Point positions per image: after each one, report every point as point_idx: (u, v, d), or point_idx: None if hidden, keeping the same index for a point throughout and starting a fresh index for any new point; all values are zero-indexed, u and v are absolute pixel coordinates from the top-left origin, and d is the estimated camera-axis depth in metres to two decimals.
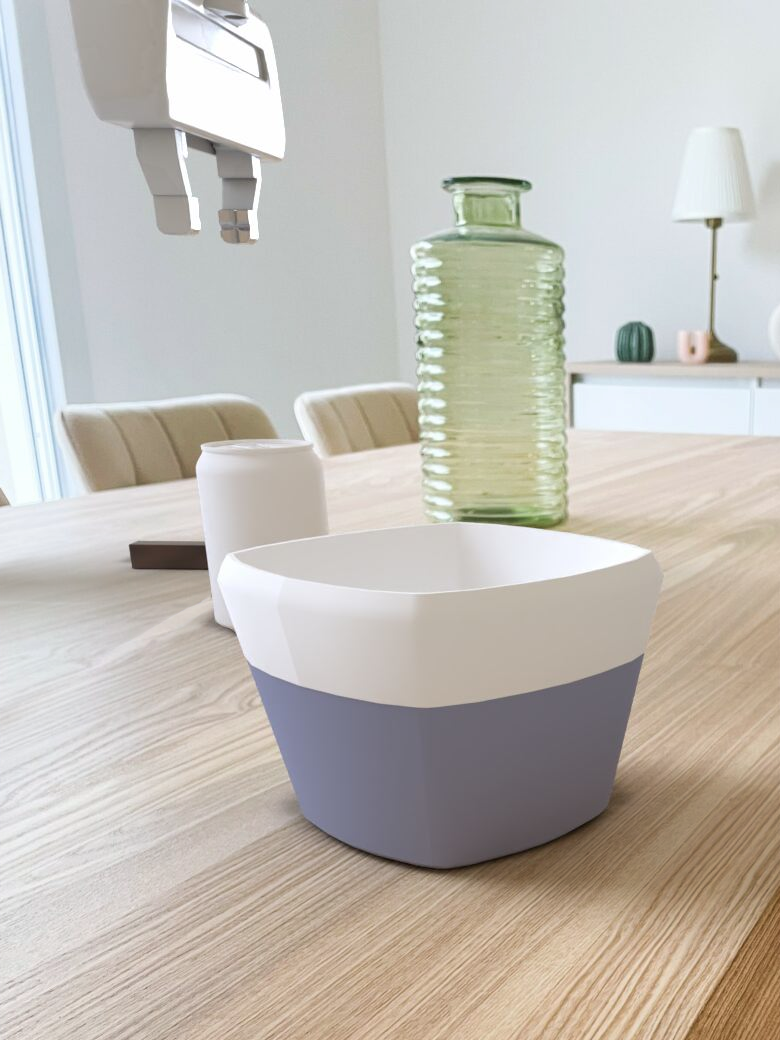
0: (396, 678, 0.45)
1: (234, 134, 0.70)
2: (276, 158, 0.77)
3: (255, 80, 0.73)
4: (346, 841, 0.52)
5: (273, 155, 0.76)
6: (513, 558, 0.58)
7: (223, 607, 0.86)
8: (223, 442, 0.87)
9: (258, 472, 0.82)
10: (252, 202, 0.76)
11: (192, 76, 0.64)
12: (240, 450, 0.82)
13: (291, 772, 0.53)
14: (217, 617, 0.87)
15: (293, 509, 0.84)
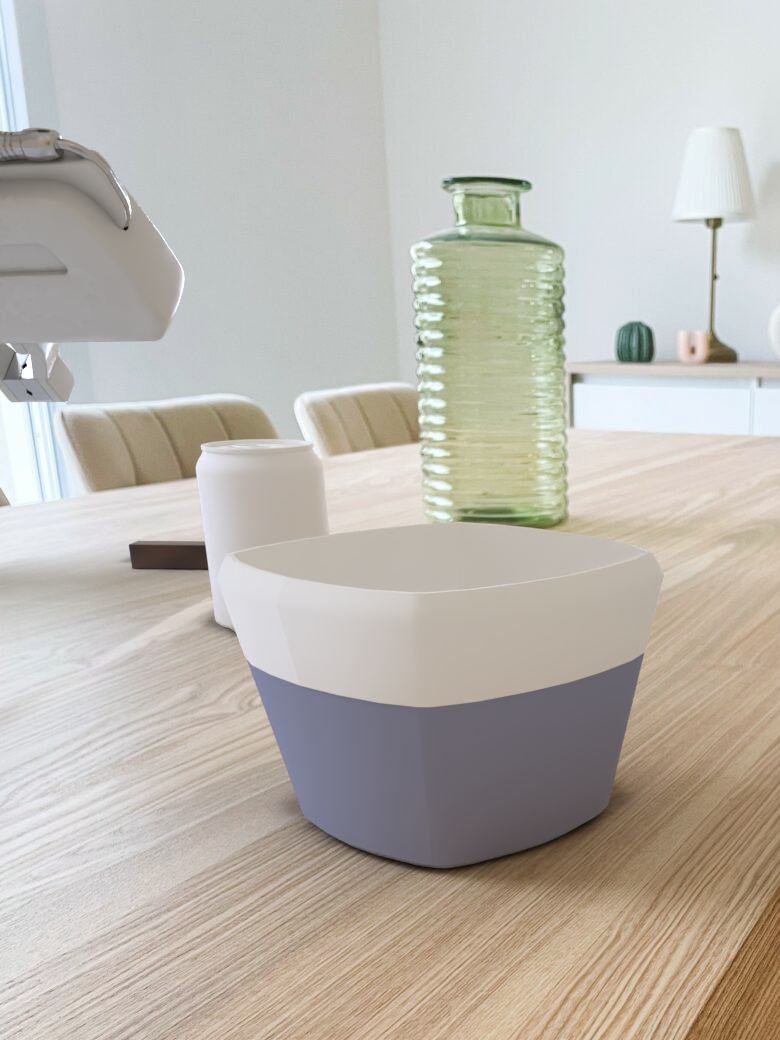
0: (396, 677, 0.45)
1: None
2: None
3: (24, 281, 0.55)
4: (346, 841, 0.52)
5: (116, 341, 0.58)
6: (513, 558, 0.58)
7: (223, 607, 0.86)
8: (223, 442, 0.87)
9: (258, 472, 0.82)
10: (32, 372, 0.62)
11: None
12: (240, 450, 0.82)
13: (291, 772, 0.53)
14: (217, 617, 0.87)
15: (293, 509, 0.84)
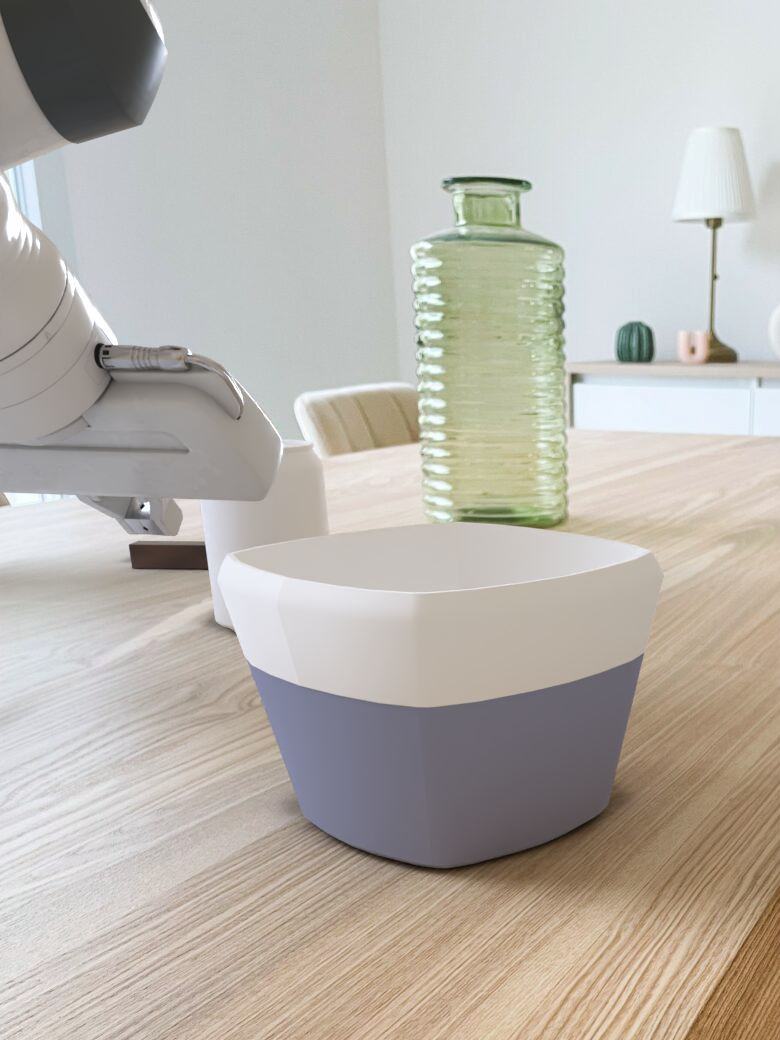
0: (396, 678, 0.45)
1: (105, 493, 0.70)
2: (240, 500, 0.69)
3: (152, 456, 0.66)
4: (346, 841, 0.52)
5: None
6: (513, 558, 0.58)
7: (223, 607, 0.86)
8: None
9: None
10: (149, 514, 0.73)
11: None
12: None
13: (291, 772, 0.53)
14: (217, 617, 0.87)
15: (293, 509, 0.84)
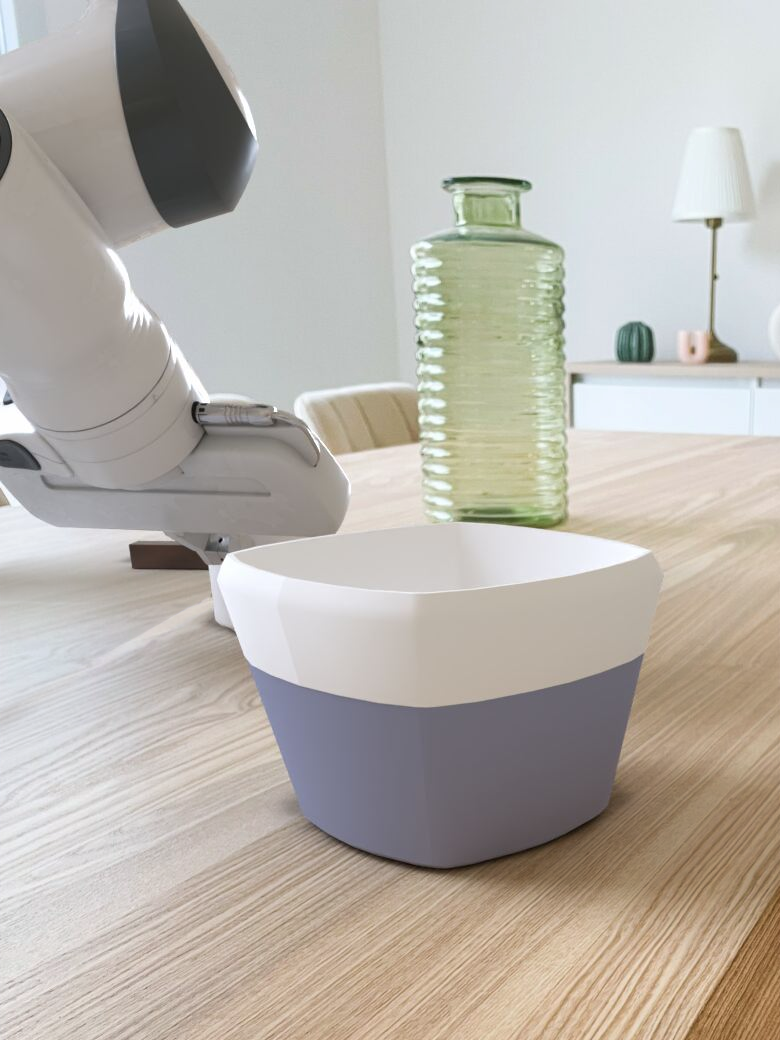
0: (396, 678, 0.45)
1: (191, 530, 0.78)
2: None
3: (237, 498, 0.74)
4: (346, 841, 0.52)
5: (299, 536, 0.77)
6: (513, 558, 0.58)
7: (223, 607, 0.86)
8: None
9: None
10: (228, 548, 0.81)
11: (91, 507, 0.77)
12: None
13: (291, 772, 0.53)
14: (217, 617, 0.87)
15: None
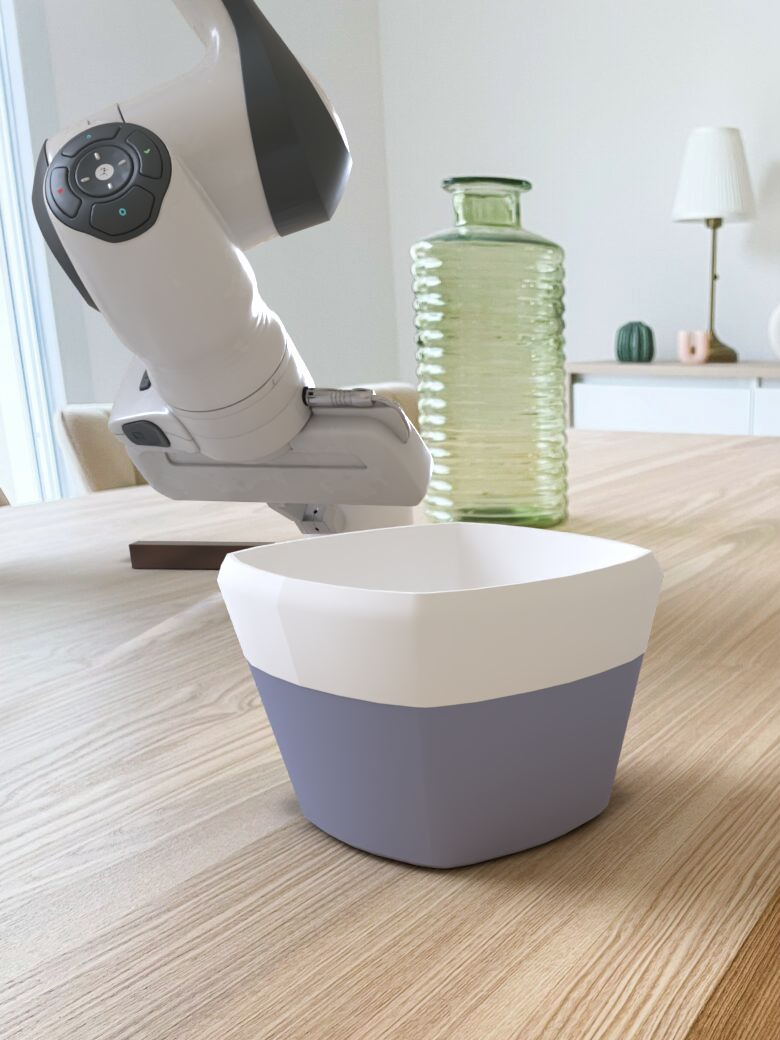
0: (396, 678, 0.45)
1: (293, 501, 0.89)
2: None
3: (336, 472, 0.85)
4: (346, 841, 0.52)
5: (388, 505, 0.88)
6: (513, 558, 0.58)
7: None
8: None
9: None
10: (322, 518, 0.92)
11: (207, 481, 0.89)
12: None
13: (291, 772, 0.53)
14: None
15: None
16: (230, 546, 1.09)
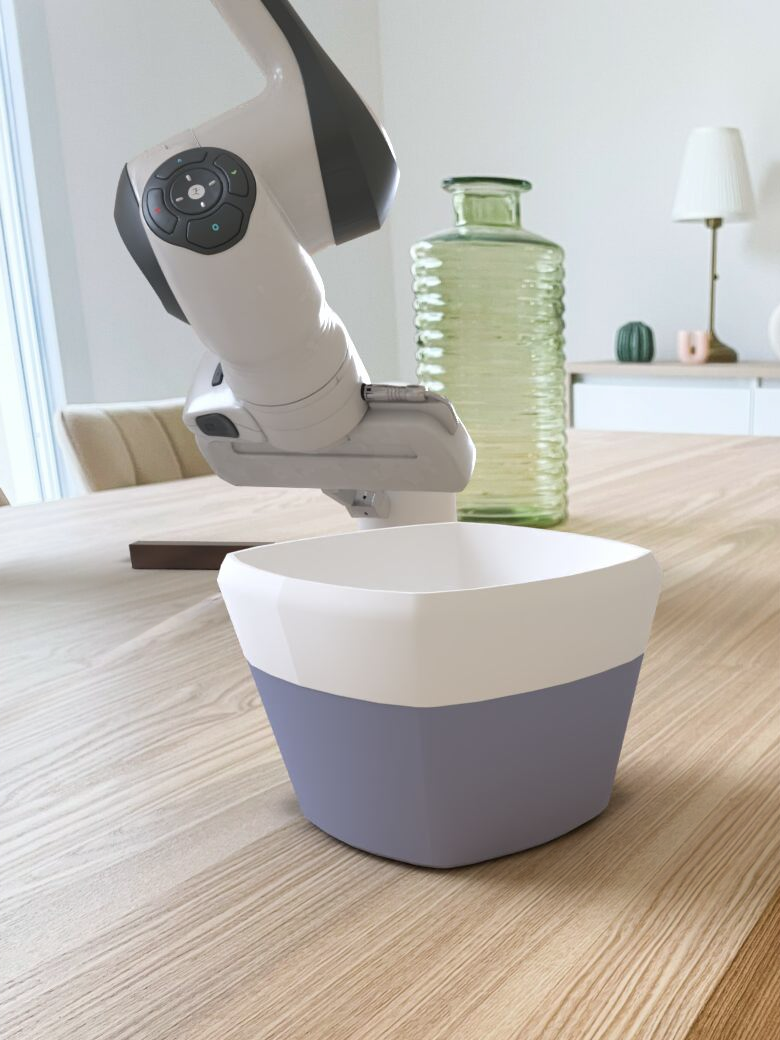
0: (396, 678, 0.45)
1: (346, 487, 0.98)
2: None
3: (389, 460, 0.94)
4: (346, 841, 0.52)
5: (434, 491, 0.96)
6: (513, 558, 0.58)
7: None
8: None
9: None
10: (372, 503, 1.00)
11: (267, 469, 0.97)
12: None
13: (291, 772, 0.53)
14: None
15: None
16: (230, 546, 1.09)
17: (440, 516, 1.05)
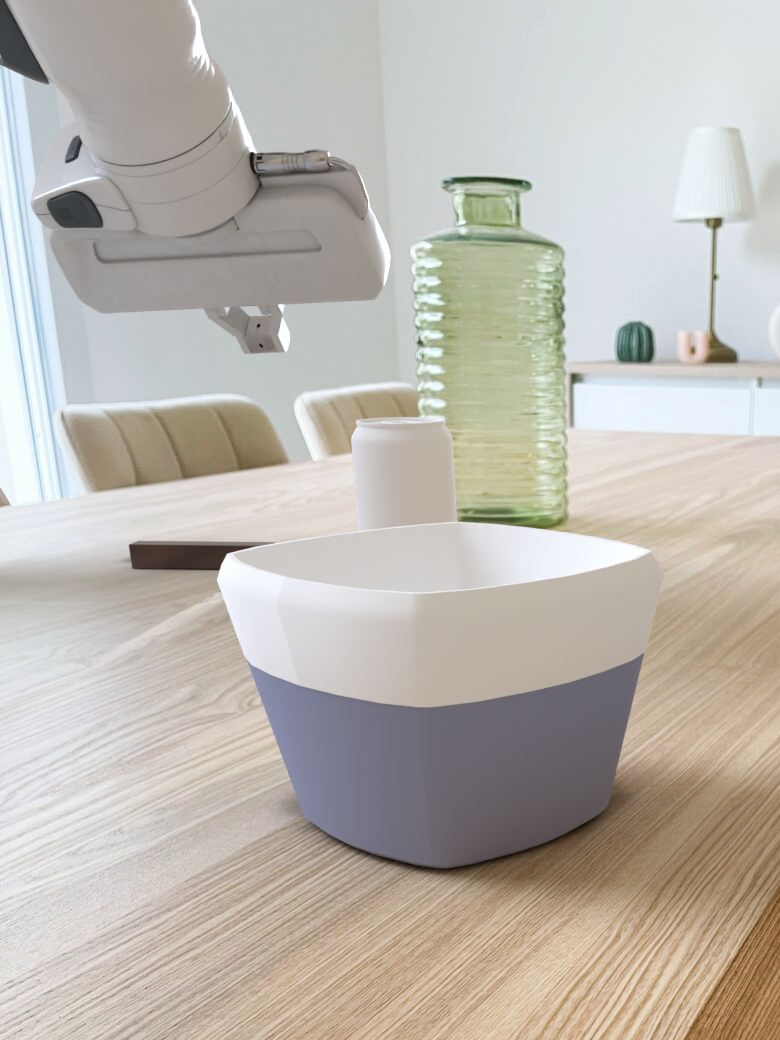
0: (396, 678, 0.45)
1: (237, 303, 0.82)
2: (356, 300, 0.82)
3: (287, 257, 0.79)
4: (346, 841, 0.52)
5: (343, 301, 0.82)
6: (513, 558, 0.58)
7: None
8: (375, 419, 1.06)
9: (398, 443, 1.01)
10: (268, 329, 0.85)
11: (140, 283, 0.81)
12: (384, 424, 1.01)
13: (291, 772, 0.53)
14: None
15: (425, 474, 1.03)
16: (230, 546, 1.09)
17: (440, 516, 1.05)
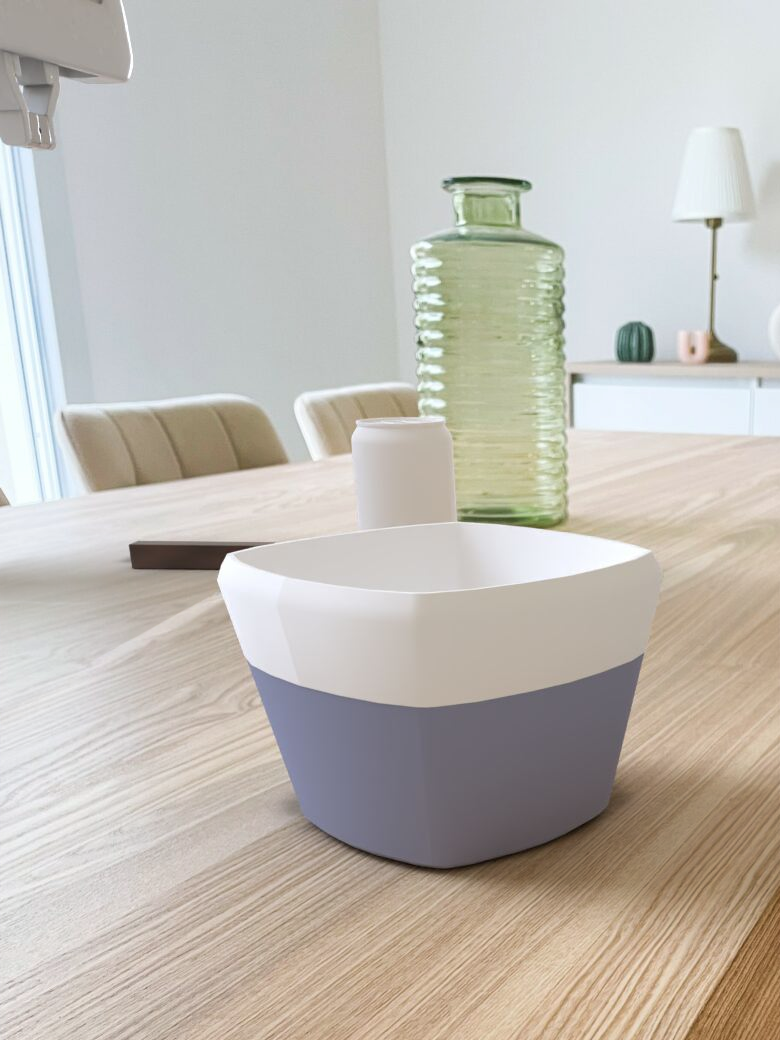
0: (396, 678, 0.45)
1: (43, 48, 0.77)
2: (118, 77, 0.84)
3: (81, 2, 0.80)
4: (346, 841, 0.52)
5: (111, 74, 0.83)
6: (513, 558, 0.58)
7: None
8: (375, 419, 1.06)
9: (398, 443, 1.01)
10: (46, 108, 0.79)
11: None
12: (384, 424, 1.01)
13: (291, 772, 0.53)
14: None
15: (425, 474, 1.03)
16: (230, 546, 1.09)
17: (440, 516, 1.05)
